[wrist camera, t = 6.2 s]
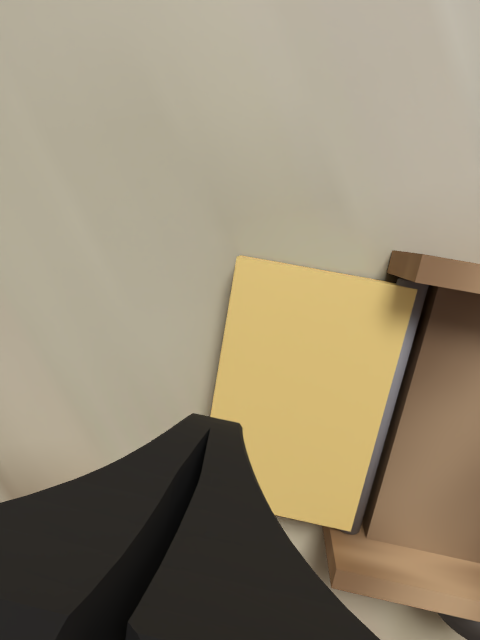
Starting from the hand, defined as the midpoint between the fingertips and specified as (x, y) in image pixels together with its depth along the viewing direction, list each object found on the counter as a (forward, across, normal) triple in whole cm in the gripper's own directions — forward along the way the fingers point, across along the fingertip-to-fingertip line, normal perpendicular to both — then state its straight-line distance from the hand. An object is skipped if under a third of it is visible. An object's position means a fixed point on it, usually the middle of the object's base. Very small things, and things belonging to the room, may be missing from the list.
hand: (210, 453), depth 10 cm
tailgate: (+5, -5, 0) cm, 7 cm away
